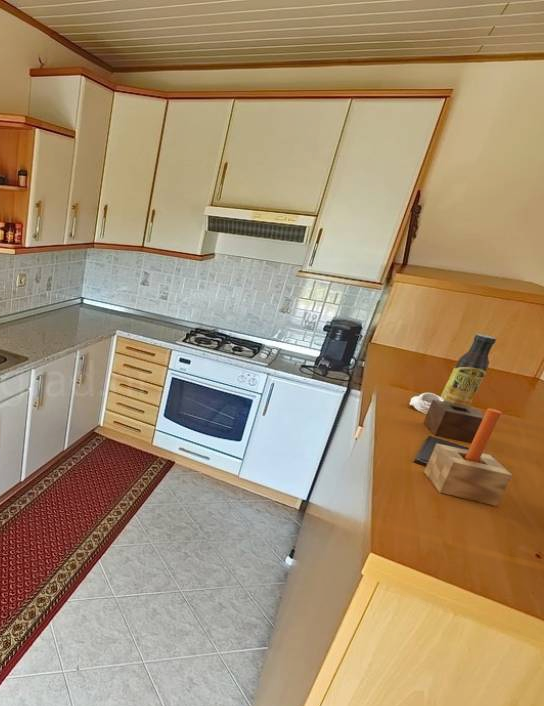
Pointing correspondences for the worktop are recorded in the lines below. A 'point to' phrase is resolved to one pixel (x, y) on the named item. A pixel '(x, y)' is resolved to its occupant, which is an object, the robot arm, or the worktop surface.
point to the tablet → (429, 447)
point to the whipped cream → (424, 401)
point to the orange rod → (483, 435)
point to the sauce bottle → (469, 372)
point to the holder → (453, 420)
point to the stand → (467, 475)
